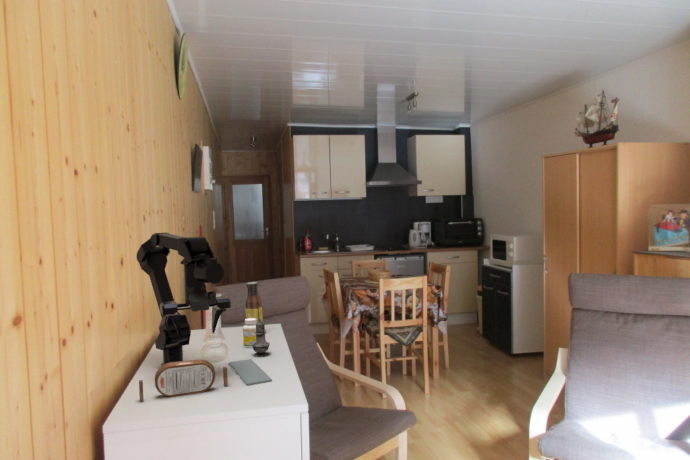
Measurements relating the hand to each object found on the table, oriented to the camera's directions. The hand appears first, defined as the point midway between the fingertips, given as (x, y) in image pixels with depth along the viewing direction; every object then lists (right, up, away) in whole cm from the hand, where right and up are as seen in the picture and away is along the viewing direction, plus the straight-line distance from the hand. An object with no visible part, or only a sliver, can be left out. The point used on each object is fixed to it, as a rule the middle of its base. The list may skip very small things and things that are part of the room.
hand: (196, 335), depth 140 cm
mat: (+14, -11, +3) cm, 19 cm away
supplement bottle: (+10, -11, +31) cm, 34 cm away
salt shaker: (+15, -11, +20) cm, 27 cm away
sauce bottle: (+8, -10, +48) cm, 50 cm away
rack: (+1, -12, -13) cm, 18 cm away
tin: (+1, -13, -13) cm, 18 cm away
